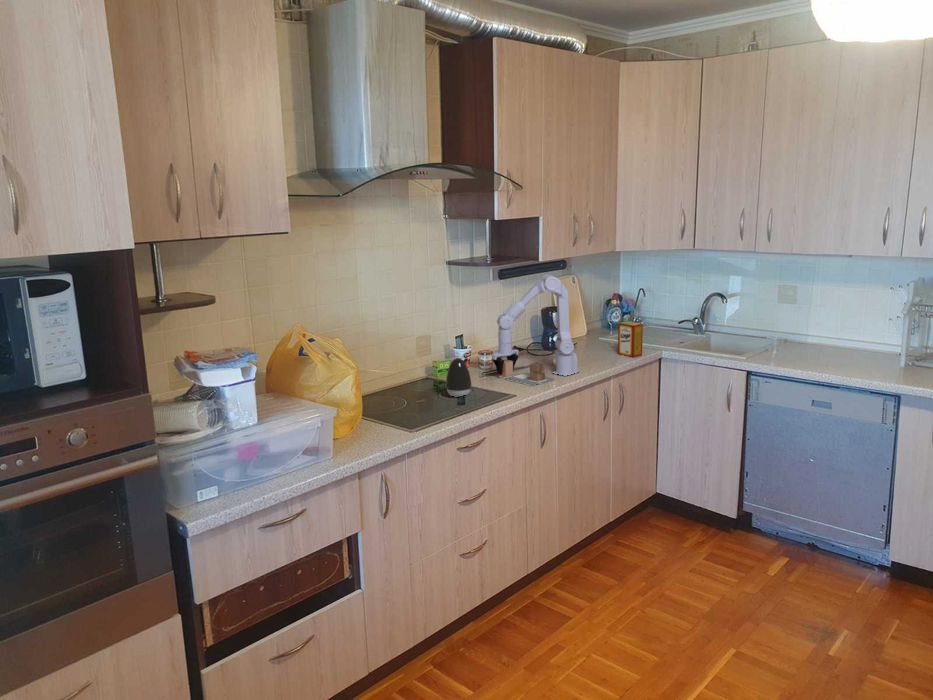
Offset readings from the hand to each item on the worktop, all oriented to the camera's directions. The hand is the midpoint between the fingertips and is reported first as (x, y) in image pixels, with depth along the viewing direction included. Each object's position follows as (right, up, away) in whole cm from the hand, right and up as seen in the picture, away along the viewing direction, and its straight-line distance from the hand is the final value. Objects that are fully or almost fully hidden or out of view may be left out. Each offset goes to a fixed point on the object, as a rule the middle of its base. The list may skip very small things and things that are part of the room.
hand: (505, 373), depth 308 cm
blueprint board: (+10, -3, -6) cm, 12 cm away
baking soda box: (+62, +7, +35) cm, 72 cm away
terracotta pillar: (0, -2, 0) cm, 2 cm away
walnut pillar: (+13, -3, -9) cm, 16 cm away
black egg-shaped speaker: (-20, -8, -27) cm, 35 cm away
